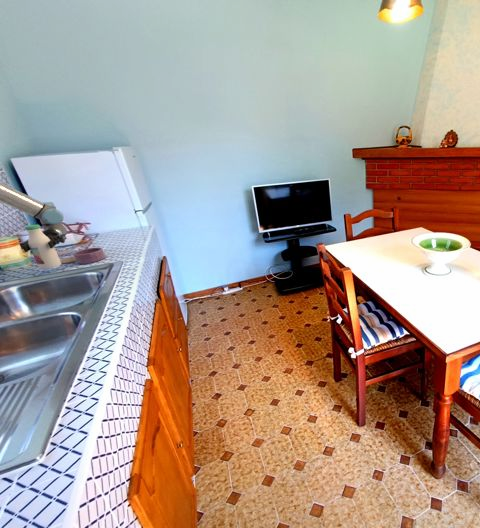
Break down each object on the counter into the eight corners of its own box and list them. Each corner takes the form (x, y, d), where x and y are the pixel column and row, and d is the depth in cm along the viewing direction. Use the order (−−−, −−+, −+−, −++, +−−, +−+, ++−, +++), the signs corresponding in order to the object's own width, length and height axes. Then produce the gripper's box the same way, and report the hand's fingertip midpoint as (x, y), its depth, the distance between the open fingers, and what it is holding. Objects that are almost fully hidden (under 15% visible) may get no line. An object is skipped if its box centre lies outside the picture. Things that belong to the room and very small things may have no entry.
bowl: (81, 266, 145) (77, 256, 143) (73, 262, 152) (69, 253, 150) (109, 258, 154) (105, 249, 152) (101, 255, 160) (97, 246, 158)
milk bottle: (61, 262, 146) (44, 222, 138) (61, 266, 140) (43, 225, 133) (40, 267, 141) (20, 225, 134) (39, 271, 136) (18, 228, 128)
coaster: (62, 265, 148) (61, 264, 148) (55, 261, 154) (55, 260, 154) (89, 258, 156) (88, 257, 156) (82, 255, 162) (81, 254, 162)
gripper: (79, 239, 157) (70, 250, 139) (26, 247, 147) (9, 260, 129) (74, 225, 154) (64, 234, 136) (19, 232, 144) (1, 243, 126)
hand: (37, 247), depth 133 cm, fingers closed on milk bottle, 8 cm apart
